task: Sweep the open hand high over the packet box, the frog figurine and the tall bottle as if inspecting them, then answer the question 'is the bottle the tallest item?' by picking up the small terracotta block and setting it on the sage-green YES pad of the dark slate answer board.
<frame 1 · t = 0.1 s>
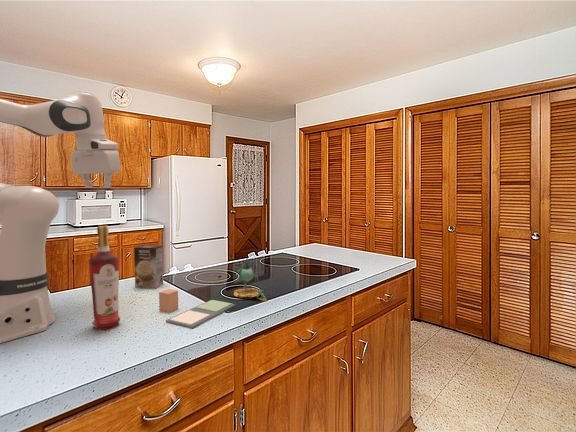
hand: (98, 187, 110), 39 cm above the countertop, fingers open, 8 cm apart
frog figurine: (248, 296, 119), on the countertop
coffee box: (149, 286, 131), on the countertop
answer board: (202, 313, 101), on the countertop
liquor: (106, 326, 92), on the countertop
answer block: (169, 309, 105), on the countertop
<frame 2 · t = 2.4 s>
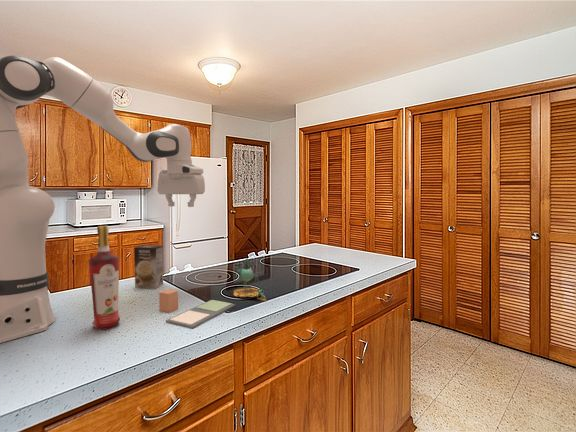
hand: (181, 206, 124), 32 cm above the countertop, fingers open, 8 cm apart
nothing on the countertop moved.
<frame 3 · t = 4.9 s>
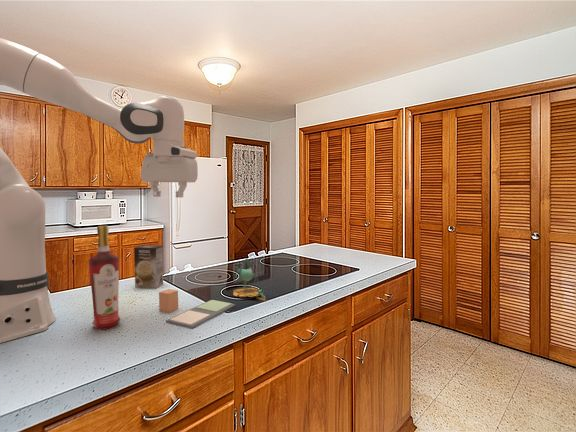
hand: (167, 197, 102), 36 cm above the countertop, fingers open, 8 cm apart
nothing on the countertop moved.
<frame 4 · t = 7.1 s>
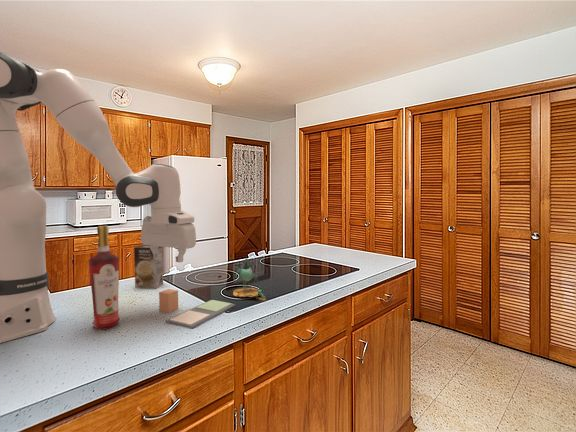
hand: (168, 260, 104), 16 cm above the countertop, fingers open, 8 cm apart
nothing on the countertop moved.
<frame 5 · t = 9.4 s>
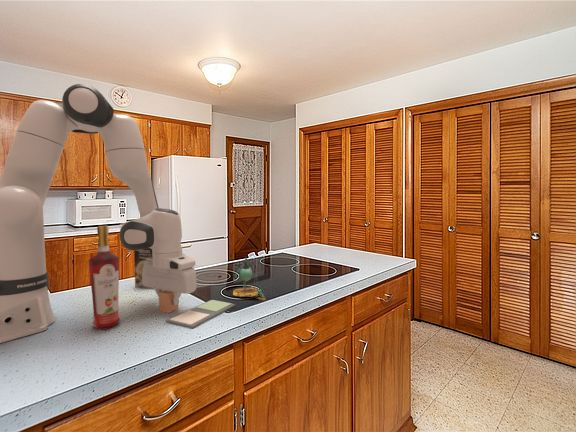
hand: (168, 303, 105), 2 cm above the countertop, fingers closed on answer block, 4 cm apart
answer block: (168, 309, 105), on the countertop, touching gripper
everything else where it was.
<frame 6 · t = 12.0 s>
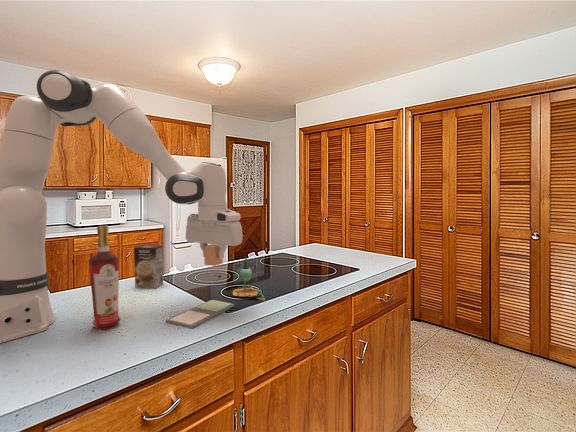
hand: (213, 257, 105), 16 cm above the countertop, fingers closed on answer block, 4 cm apart
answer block: (213, 264, 105), point 14 cm above the countertop, touching gripper
everything else where it was.
when the fingers open (4 cm above the countertop, at t = 14.9 s): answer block drops 1 cm, resting on answer board.
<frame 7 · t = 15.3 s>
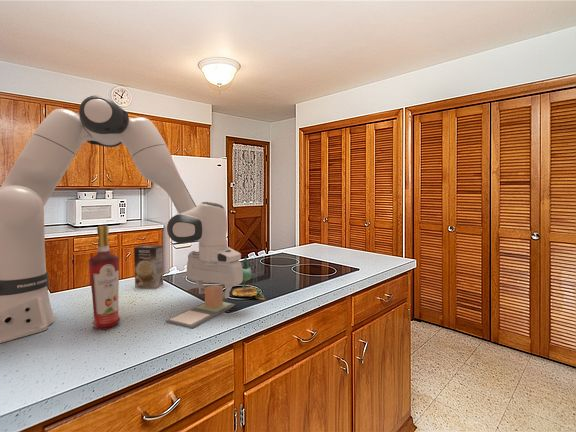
hand: (213, 295, 106), 4 cm above the countertop, fingers open, 8 cm apart
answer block: (214, 305, 106), point 1 cm above the countertop, touching answer board
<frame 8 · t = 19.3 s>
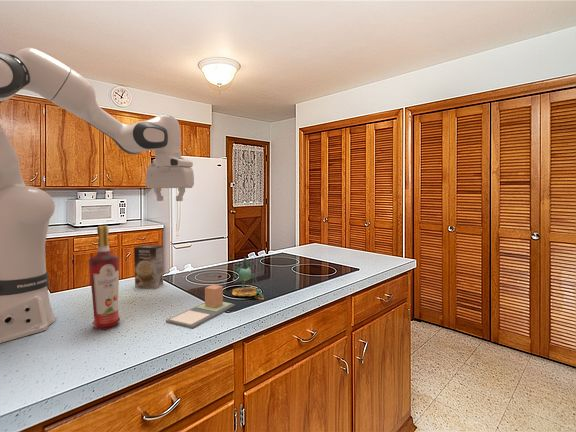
hand: (169, 201, 119), 34 cm above the countertop, fingers open, 8 cm apart
at the end: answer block inside the target area on the answer board (0.1 cm from its centre), point 0.9 cm above the answer board's base; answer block touching answer board; the gripper is holding nothing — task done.
